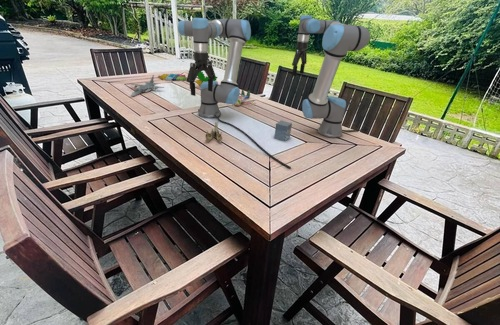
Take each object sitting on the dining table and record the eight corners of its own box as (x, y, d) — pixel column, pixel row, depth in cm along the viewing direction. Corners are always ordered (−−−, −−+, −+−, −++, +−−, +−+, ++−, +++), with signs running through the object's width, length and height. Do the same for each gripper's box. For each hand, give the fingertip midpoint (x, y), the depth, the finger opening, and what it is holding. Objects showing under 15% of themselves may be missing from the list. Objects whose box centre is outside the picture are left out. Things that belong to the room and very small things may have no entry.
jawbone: (224, 125, 157) (223, 115, 148) (222, 147, 150) (221, 138, 141) (208, 125, 157) (206, 115, 148) (206, 147, 150) (204, 138, 141)
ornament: (212, 91, 261) (216, 76, 260) (214, 91, 254) (218, 75, 252) (192, 84, 253) (195, 69, 251) (193, 84, 245) (197, 68, 244)
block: (279, 134, 163) (281, 120, 159) (289, 137, 160) (292, 123, 155) (274, 138, 158) (275, 123, 153) (285, 141, 155) (287, 126, 150)
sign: (185, 79, 272) (155, 78, 269) (185, 81, 272) (155, 79, 270) (188, 74, 294) (161, 73, 291) (188, 76, 294) (161, 74, 292)
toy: (261, 91, 228) (254, 99, 202) (261, 99, 231) (253, 108, 205) (231, 87, 233) (220, 95, 207) (230, 95, 236) (219, 104, 210)
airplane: (124, 86, 238) (122, 75, 233) (160, 84, 251) (158, 74, 246) (129, 99, 209) (126, 86, 204) (168, 96, 223) (167, 84, 217)
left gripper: (211, 49, 145) (212, 88, 156) (177, 52, 127) (180, 95, 137) (222, 51, 142) (221, 90, 152) (188, 54, 124) (190, 98, 134)
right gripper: (304, 40, 185) (299, 71, 195) (289, 41, 166) (285, 76, 176) (314, 41, 182) (309, 73, 192) (300, 42, 163) (295, 77, 173)
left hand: (202, 93), depth 145 cm, fingers open, 13 cm apart
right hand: (297, 74), depth 184 cm, fingers open, 13 cm apart
